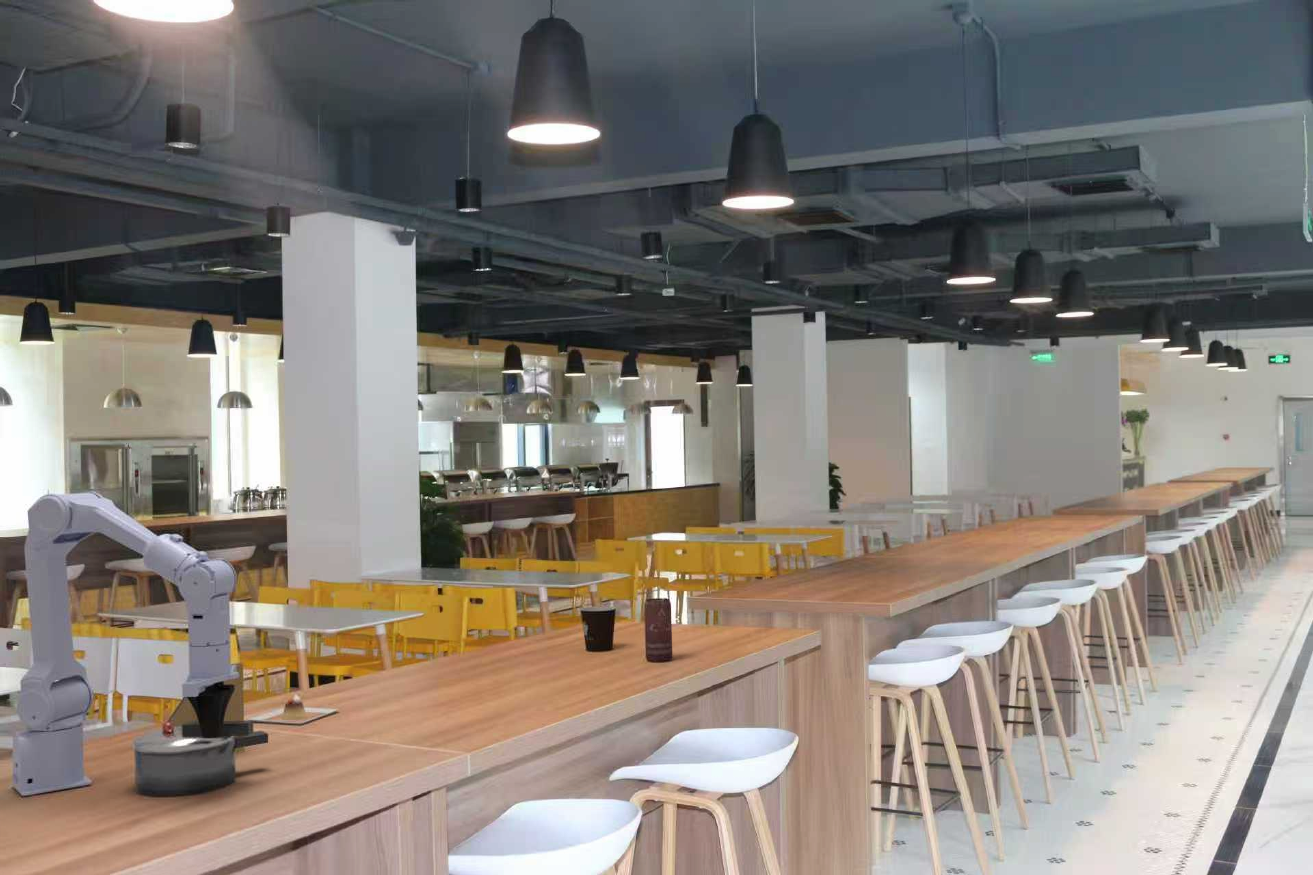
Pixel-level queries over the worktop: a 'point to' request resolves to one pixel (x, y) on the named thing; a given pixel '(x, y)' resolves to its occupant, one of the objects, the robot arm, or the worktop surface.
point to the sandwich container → (233, 711)
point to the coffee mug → (598, 628)
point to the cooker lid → (188, 737)
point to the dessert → (293, 713)
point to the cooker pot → (190, 769)
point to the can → (658, 630)
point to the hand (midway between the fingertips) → (211, 736)
